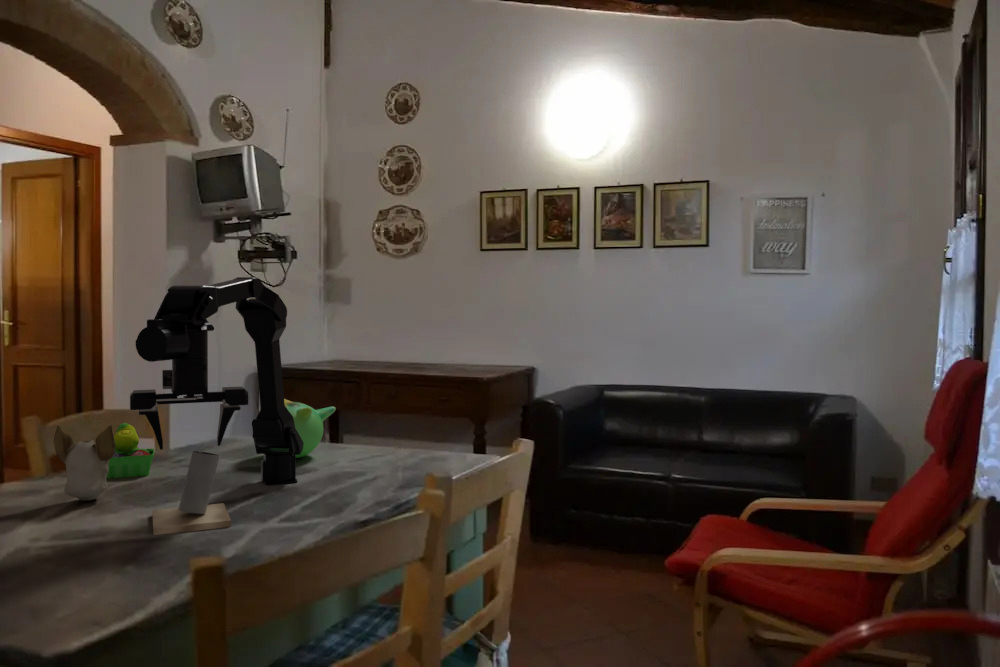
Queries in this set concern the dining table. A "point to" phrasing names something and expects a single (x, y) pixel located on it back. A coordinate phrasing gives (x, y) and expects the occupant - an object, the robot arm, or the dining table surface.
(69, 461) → the white eared plush toy
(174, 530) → the oak block
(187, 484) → the grey hollow cylinder
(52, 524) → the dining table surface
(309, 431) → the toy bird
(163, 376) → the robot arm
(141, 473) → the fruit basket
